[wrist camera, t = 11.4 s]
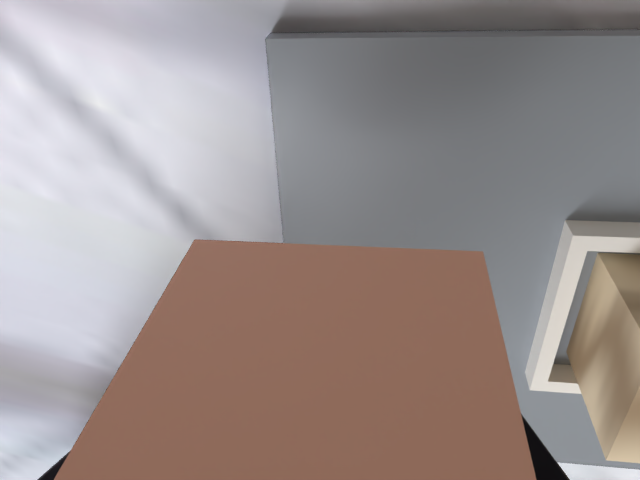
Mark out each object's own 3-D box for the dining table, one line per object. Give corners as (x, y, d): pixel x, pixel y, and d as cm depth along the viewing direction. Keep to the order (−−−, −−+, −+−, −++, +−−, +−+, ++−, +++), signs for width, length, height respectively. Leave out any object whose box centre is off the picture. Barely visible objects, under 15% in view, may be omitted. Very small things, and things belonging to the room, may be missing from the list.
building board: (708, 461, 25) (728, 496, 24) (303, 426, 28) (298, 456, 26) (984, 25, 14) (1052, 41, 13) (270, 32, 17) (257, 46, 15)
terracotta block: (451, 437, 11) (482, 746, 7) (231, 418, 12) (144, 693, 8) (483, 251, 9) (559, 577, 5) (194, 240, 9) (31, 518, 5)
